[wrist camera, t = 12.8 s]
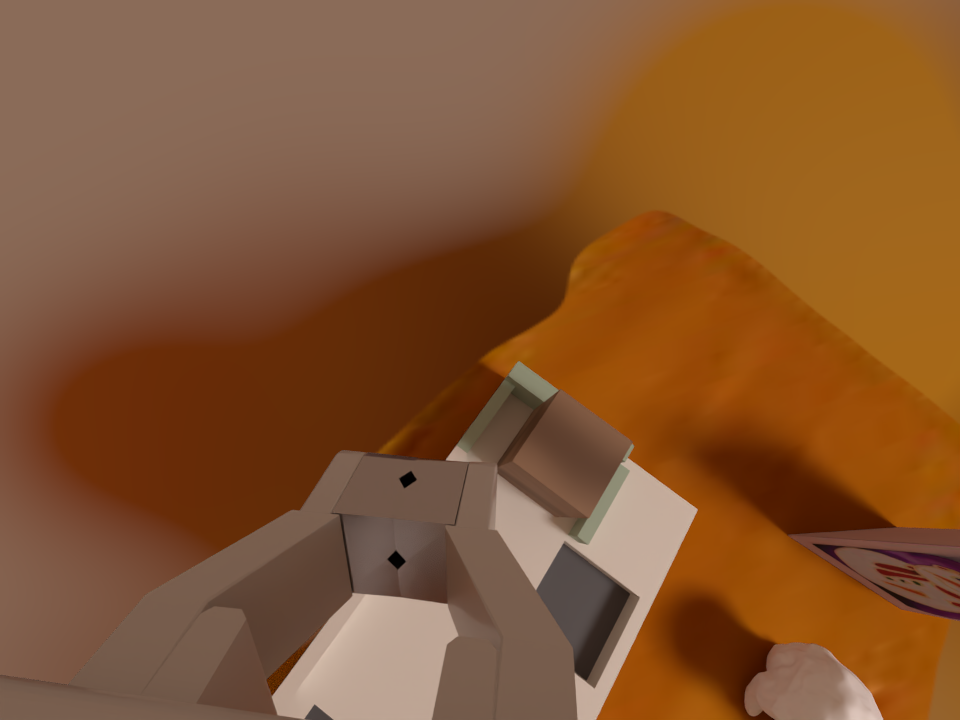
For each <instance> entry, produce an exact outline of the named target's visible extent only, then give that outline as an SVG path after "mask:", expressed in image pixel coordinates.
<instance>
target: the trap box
mask: <svg viewBox="0 0 960 720" xmlns="http://www.w3.org/2000/svg"><path fill="white" fill-rule="evenodd" d="M558 391H559V390H558V389H556V388H555V387H553V386H552V385H551V384H549V383H548V382H547V381H545V380H544V379H543V378H541V377H540V376H538V375H537V374H536V373H534V372H533V371H532V370H530V369H529V368H527V367H526V366H525V365H523V364H522V363H521V362H519V361H518V362H517V364H516V365H515V366H514V368H513V369H512V370H511V371H510V373H509V374H508V375H507V377H506V378H505V379H504V381H503V382H502V383H501V385H500V386H499V388H498V389H497V390H496V392H495V393H494V394H493V396H492V397H491V398H490V400H489V401H488V403H487V404H486V405H485V407H484V408H483V409H482V411H481V412H480V413H479V415H478V416H477V418H476V419H475V420H474V422H473V423H472V424H471V426H470V427H469V428H468V430H467V431H466V433H465V434H464V435H463V437H462V438H461V439H460V441H459V442H458V443H457V445H456V446H455V448H454V449H453V450H452V452H451V453H450V454H449V456H448V457H447V458H446V460H449V461H462V462H471V461H472V462H489V463H496V464H497V463H498V461H499V460H500V458H501V457H502V456H503V454H504V453H505V451H506V450H507V448H508V447H509V445H510V444H511V442H512V441H513V439H514V438H515V437H516V435H517V434H518V432H519V431H520V429H521V428H522V426H523V425H524V423H525V422H526V420H527V419H528V418H529V416H530V415H531V413H532V412H533V410H534V409H536V408H537V407H538V406H539V405H541V404H542V403H543V402H545V401H546V400H547V399H549V398H550V397H551V396H552V395H554V394H555V393H556V392H558ZM633 447H634V445H633V444H631V446H630V448H629V450H628V451H627V453H626V455H625V457H624V458H623V460H622V462H621V464H620V465H619V467H618V469H617V470H616V472H615V474H614V476H613V477H612V479H611V481H610V483H609V484H608V486H607V488H606V490H605V491H604V493H603V495H602V497H601V498H600V500H599V502H598V504H597V505H596V507H595V509H594V511H593V512H592V514H591V516H590V518H569V517H555V516H553V515H552V514H551V513H549V512H548V511H547V510H545V509H544V508H543V507H541V506H540V505H539V504H537V503H536V502H535V501H533V500H532V499H531V498H529V497H528V496H527V495H525V494H524V493H523V492H521V491H520V490H519V489H517V488H516V487H515V486H513V485H512V484H511V483H509V482H508V481H507V480H505V479H504V478H503V477H502V476H500V475H499V474H498V475H497V500H496V521H495V530H497V531H498V532H499V534H500V535H501V537H502V538H503V540H504V542H505V543H506V545H507V546H508V548H509V549H510V551H511V552H512V554H513V556H514V557H515V559H516V560H517V562H518V563H519V565H520V566H521V568H522V570H523V571H524V573H525V574H526V576H527V577H528V579H529V580H530V582H531V584H532V585H533V587H534V588H535V590H536V591H537V593H538V594H539V596H540V598H541V599H542V601H543V602H544V604H545V605H546V607H547V608H548V610H549V612H550V613H551V615H552V616H553V618H554V619H555V621H556V622H557V624H558V626H559V627H560V629H561V630H562V632H563V633H564V635H565V636H566V638H567V640H568V641H569V643H570V644H571V646H572V647H573V656H574V671H575V687H576V702H577V717H578V720H596V718H597V716H598V714H599V712H600V710H601V708H602V706H603V704H604V702H605V700H606V698H607V696H608V694H609V692H610V690H611V687H612V685H613V683H614V681H615V679H616V677H617V675H618V673H619V671H620V669H621V667H622V665H623V663H624V661H625V659H626V657H627V654H628V652H629V650H630V648H631V646H632V644H633V642H634V640H635V638H636V636H637V634H638V632H639V630H640V628H641V626H642V624H643V622H644V619H645V617H646V615H647V613H648V611H649V609H650V607H651V605H652V603H653V601H654V599H655V597H656V595H657V593H658V591H659V589H660V586H661V584H662V582H663V580H664V578H665V576H666V574H667V572H668V570H669V568H670V566H671V564H672V562H673V560H674V558H675V556H676V554H677V551H678V549H679V547H680V545H681V543H682V541H683V539H684V537H685V535H686V533H687V531H688V529H689V527H690V525H691V523H692V521H693V518H694V516H695V514H696V512H697V510H698V509H696V508H695V507H694V506H692V505H691V504H689V503H688V502H687V501H685V500H684V499H683V498H681V497H680V496H679V495H677V494H676V493H675V492H673V491H672V490H670V489H669V488H668V487H666V486H665V485H664V484H662V483H661V482H660V481H658V480H657V479H655V478H654V477H653V476H651V475H650V474H649V473H647V472H646V471H645V470H643V469H642V468H641V467H639V466H638V465H636V464H635V463H634V462H632V461H631V460H630V459H628V456H629V454H630V453H631V451H632V449H633ZM352 595H353V596H352V597H351V598H350V599H349V600H348V601H347V602H346V603H345V604H344V605H343V606H342V607H341V608H340V609H339V610H338V611H337V612H336V613H335V614H334V615H333V616H332V617H331V618H330V619H329V620H328V621H327V622H326V623H325V625H324V626H323V627H322V629H321V630H320V632H319V633H318V634H317V636H316V637H315V638H314V640H313V641H312V642H311V644H310V645H309V647H308V648H307V649H306V651H305V652H304V653H303V655H302V656H301V657H300V659H299V660H298V662H297V663H296V664H295V666H294V667H293V668H292V670H291V671H290V672H289V674H288V675H287V677H286V678H285V679H284V681H283V682H282V683H281V685H280V686H279V687H278V689H277V690H276V692H275V693H274V694H273V696H272V699H273V702H274V705H275V708H276V711H277V715H279V716H286V717H293V718H300V719H307V720H432V716H433V711H434V706H435V701H436V696H437V691H438V686H439V681H440V676H441V671H442V666H443V661H444V656H445V651H446V646H447V644H448V643H449V642H451V641H452V640H453V639H454V638H456V637H457V636H458V633H457V630H456V628H455V625H454V622H453V619H452V617H451V614H450V611H449V609H448V604H443V603H436V602H430V601H423V600H416V599H409V598H402V597H392V596H380V595H369V594H357V593H352Z"/></svg>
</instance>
